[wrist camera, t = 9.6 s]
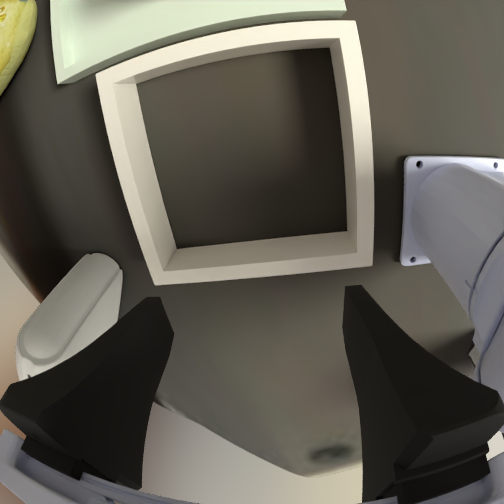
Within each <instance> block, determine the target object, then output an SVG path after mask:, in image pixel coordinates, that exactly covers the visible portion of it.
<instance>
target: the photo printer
mask: <svg viewBox="0 0 504 504" xmlns="http://www.w3.org/2000/svg"><path fill="white" fill-rule="evenodd" d="M122 275H123V274H122V270H121V269H119V265H118V264H117V263H116V262H115V261H114V260H113V259H112V258H110V257H109V256H107V255H104V254H101V253H93V254H92V255H90V254H86V255H85V256H84V257H83V258H82V259H81V260H80V261H79V262H78V263H77V264H76V265H75V266H74V267H73V268H72V269H71V270H70V271H69V273H68V274H67V275H66V276H65V277H64V278H63V279H62V280H61V281H60V282H59V284H58V285H57V286H56V287H55V288H54V289H53V290H52V292H51V293H50V294H49V295H48V296H47V297H46V298H45V300H44V301H43V302H42V303H41V304H40V305H39V307H38V308H37V309H36V310H35V311H34V313H33V314H32V315H31V316H30V318H29V319H28V320H27V321H26V323H25V324H24V325H23V326H22V328H21V330H20V331H19V333H18V337H17V341H16V352H15V356H16V367H17V372H18V377H19V381H22V380H25V379H27V378H30V377H33V376H35V375H37V374H40V373H42V372H44V371H46V370H48V369H50V368H52V367H54V366H56V365H58V364H60V363H61V362H63V361H65V360H67V359H68V358H70V357H72V356H73V355H75V354H76V353H78V352H79V351H81V350H82V349H84V348H85V347H87V346H88V345H89V344H91V343H92V342H93V341H95V340H96V339H97V338H98V337H100V336H101V335H102V334H103V333H104V332H106V331H107V330H108V329H109V328H111V327H112V326H113V325H114V324H115V323H116V322H117V319H118V313H119V306H120V298H121V290H122V279H123V276H122Z"/></svg>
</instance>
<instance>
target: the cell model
mask: <svg viewBox="0 0 504 504" xmlns="http://www.w3.org/2000/svg"><path fill="white" fill-rule="evenodd" d="M36 22H37V5H36V2H35V0H0V95H1V94H2V93H3V91H4V90H5V88H6V87H7V85H8V84H9V82H10V80H11V79H12V77H13V76H14V74H15V72H16V71H17V69H18V67H19V66H20V64H21V62H22V61H23V59H24V57H25V55H26V53H27V51H28V49H29V46H30V44H31V41H32V39H33V35H34V32H35V28H36Z"/></svg>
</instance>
